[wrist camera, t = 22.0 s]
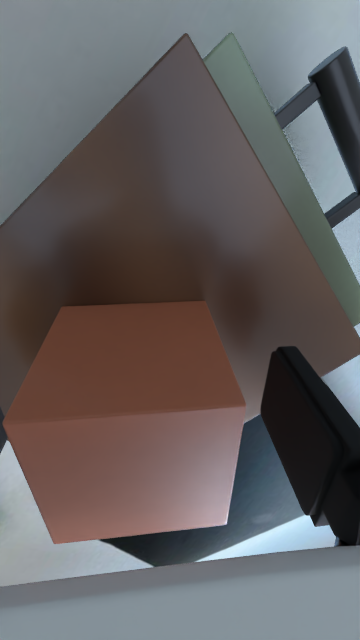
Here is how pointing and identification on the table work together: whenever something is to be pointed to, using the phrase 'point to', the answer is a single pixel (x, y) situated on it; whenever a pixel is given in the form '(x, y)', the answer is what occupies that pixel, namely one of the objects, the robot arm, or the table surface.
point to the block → (129, 421)
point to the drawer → (279, 160)
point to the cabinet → (168, 235)
